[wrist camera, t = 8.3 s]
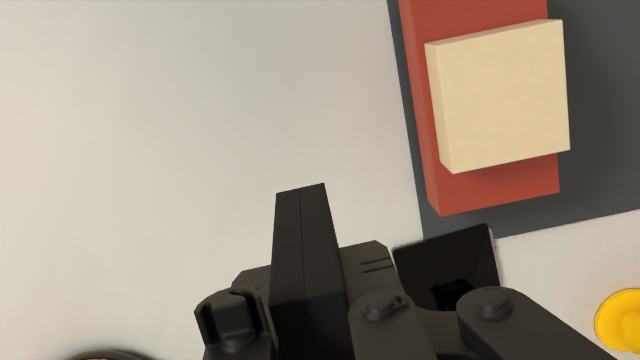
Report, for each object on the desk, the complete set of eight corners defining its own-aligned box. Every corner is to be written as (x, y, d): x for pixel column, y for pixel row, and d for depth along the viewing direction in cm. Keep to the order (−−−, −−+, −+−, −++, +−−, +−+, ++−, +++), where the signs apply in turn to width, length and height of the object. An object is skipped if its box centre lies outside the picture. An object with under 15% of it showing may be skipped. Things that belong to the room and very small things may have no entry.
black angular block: (390, 248, 39) (403, 279, 34) (489, 219, 38) (515, 247, 34) (427, 386, 42) (443, 430, 38) (517, 361, 42) (545, 403, 38)
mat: (380, -42, 33) (381, -42, 33) (638, -96, 33) (640, -97, 33) (426, 252, 39) (426, 253, 39) (644, 206, 39) (646, 207, 39)
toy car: (420, -4, 27) (568, -35, 27) (394, 0, 33) (512, -25, 33) (452, 233, 31) (582, 207, 31) (423, 194, 37) (529, 172, 37)
